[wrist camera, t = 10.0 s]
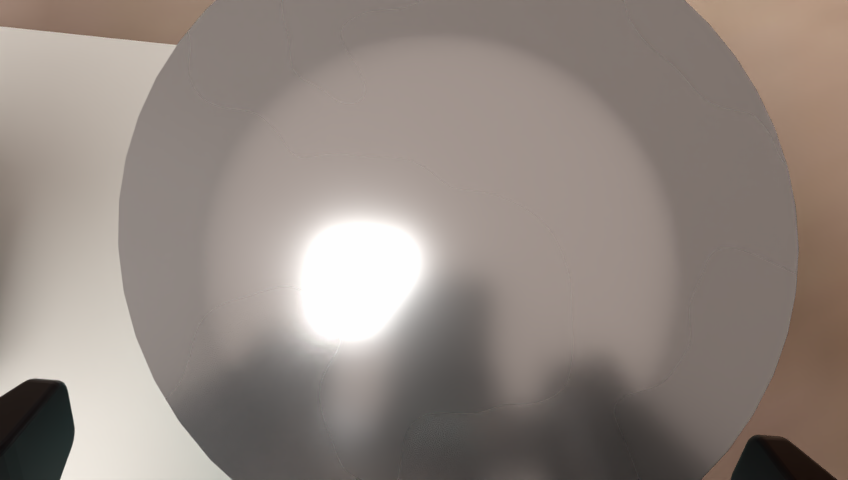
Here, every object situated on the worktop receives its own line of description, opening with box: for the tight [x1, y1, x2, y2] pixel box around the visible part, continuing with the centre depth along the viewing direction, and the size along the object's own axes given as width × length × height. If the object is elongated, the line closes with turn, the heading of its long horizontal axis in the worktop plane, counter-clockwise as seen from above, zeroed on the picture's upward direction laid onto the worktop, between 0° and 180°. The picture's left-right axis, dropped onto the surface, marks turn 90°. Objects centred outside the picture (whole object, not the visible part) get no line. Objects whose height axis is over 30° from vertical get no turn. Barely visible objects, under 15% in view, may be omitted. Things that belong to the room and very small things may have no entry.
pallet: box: [0, 26, 232, 480], centre depth 16 cm, size 14×25×4 cm, turn 86°
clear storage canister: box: [118, 0, 799, 480], centre depth 11 cm, size 5×5×12 cm
